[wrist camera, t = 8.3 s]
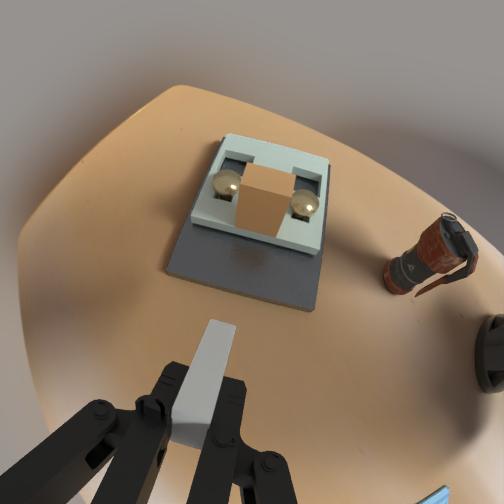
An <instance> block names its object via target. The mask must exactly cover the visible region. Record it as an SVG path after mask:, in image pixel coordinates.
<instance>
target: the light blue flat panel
mask: <svg viewBox="0 0 504 504" xmlns="http://www.w3.org/2000/svg"><path fill="white" fill-rule="evenodd" d="M449 489H450V488H448V487H447V486H443V487H442V488H441V489H439V490H438V491H436V492H435V493H433V494H432V495H430V496H429V497H427V498H426V499H424V500H422V501H421V502H419V503H418V504H448V497H449Z"/></svg>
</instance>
